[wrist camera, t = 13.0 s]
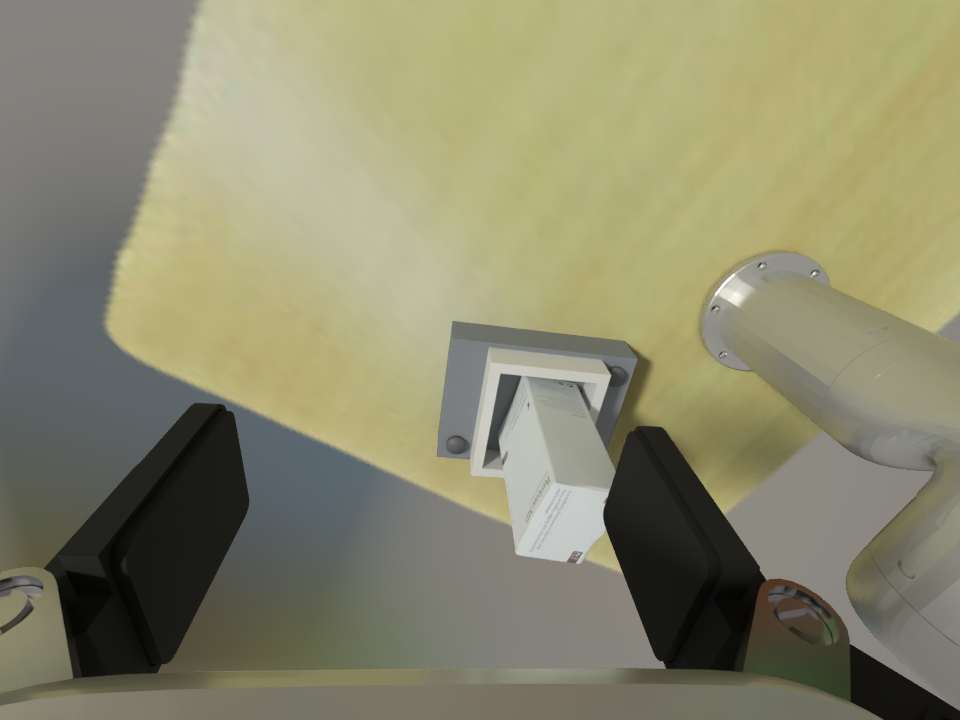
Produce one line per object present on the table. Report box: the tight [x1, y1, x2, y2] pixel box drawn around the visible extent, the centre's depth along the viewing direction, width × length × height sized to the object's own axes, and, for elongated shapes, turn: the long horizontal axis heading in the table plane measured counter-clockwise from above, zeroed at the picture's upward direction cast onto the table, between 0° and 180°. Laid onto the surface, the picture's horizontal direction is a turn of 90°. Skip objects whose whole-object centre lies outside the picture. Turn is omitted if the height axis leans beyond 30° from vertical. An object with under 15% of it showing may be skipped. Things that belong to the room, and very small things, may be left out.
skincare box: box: [498, 376, 616, 564], centre depth 39 cm, size 8×6×15 cm
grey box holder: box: [437, 321, 638, 478], centre depth 46 cm, size 18×14×7 cm
